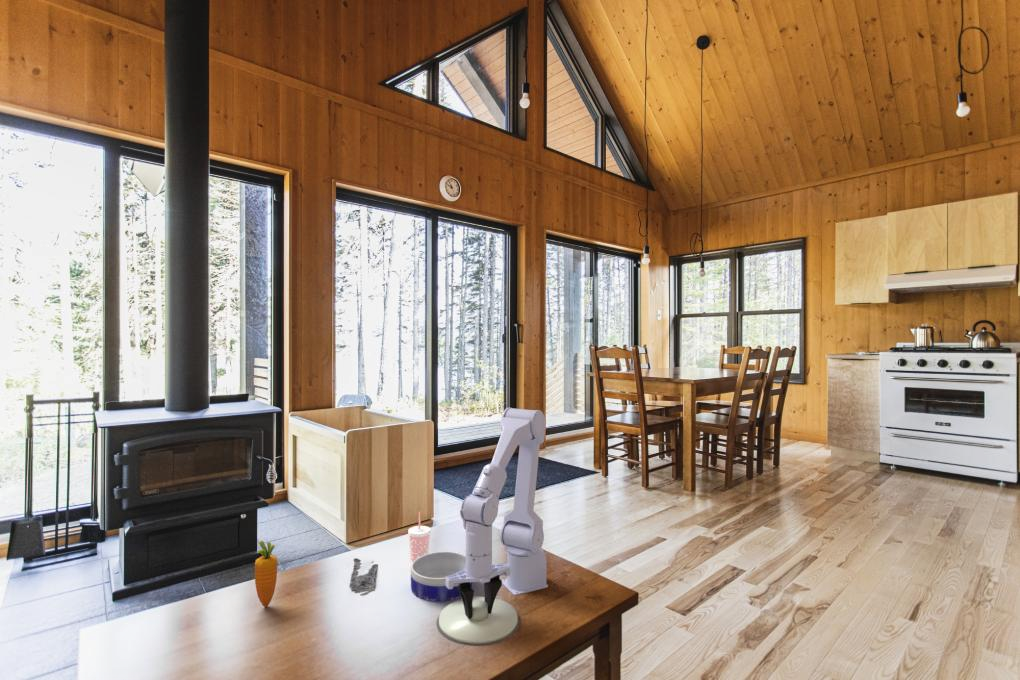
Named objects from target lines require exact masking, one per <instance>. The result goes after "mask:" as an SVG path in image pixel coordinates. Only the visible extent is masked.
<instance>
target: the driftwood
mask: <svg viewBox="0 0 1020 680" xmlns="http://www.w3.org/2000/svg"><path fill="white" fill-rule="evenodd" d="M353 562H354V563H353V567H352V568H353V570H352V573H351V577H350V582H349V589H350V590H351V592H354V594H359V596H366V595H369V594H370V593H372V592H376V589H375V581H376V576H375V575H376V572H377V564H373V563H374V561H371V562H370V563H372V566H371V567H370V568H369V569H368V572H367V573H364V574H359V571H358V570H359V569H361V568H362V567H361V565H362V564H363V563H361V562H362V559H359V558H353ZM364 564H365V563H364Z"/></svg>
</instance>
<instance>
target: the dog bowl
mask: <svg viewBox="0 0 1020 680" xmlns="http://www.w3.org/2000/svg"><path fill="white" fill-rule="evenodd" d="M464 569H466V554H465V553H460V552H456V551H450V550H449V551H447V550H441V551H434V552H428V554H425V555H423V556H421V557H419V558H417V559H416V560H415V561H414V562H413V563H412V564H411V563H410V589H411V590H410V591H411V594H413V595H414V596H415V597H416V598H417V599H420V600H423V601H426V602H432V603H433V602H434V603H435V602H436V603H439V602H440V603H442V602H443V603H445V602H450V601H455V600H459V599H460V598H461V595H460V593H459V590H458V588H457V586H455V587H453V589H448V588H447V587H446V576H450V575H453V574H455V573H457V572H460V571H462V570H464ZM473 583H474V582H472V583H470V585H471V588H472V589H473ZM461 599H462V598H461Z"/></svg>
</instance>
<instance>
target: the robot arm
mask: <svg viewBox="0 0 1020 680" xmlns="http://www.w3.org/2000/svg"><path fill="white" fill-rule="evenodd" d="M499 420H500V421H499V426H500V432H501V434H500V437H499V440H498V442H497V445H496V448H495V451H494V454H493V457H492V460H491V462H490V463H488V464H486V465H484V466H483V468H482V471H481V473H480V475H479V477H478V480H477V482H476V483H475V486H474V488H473V490H472V493H471V494H469V495H467V496H466V497H465V498H464V499H463V501H462V503H461V508H460V510H459V515H460V518H461V520H462V523H463V525H462V526H463V528H464V530H465V555H466V569H464V570H462V571H460V572H457V573H455V574H453V575H450V576H446V587H447V588H448V589H453V587H455V586H457V588H458V590H459V593H460V595H461V599H462V601H463V604H464V609H465V615H466V616H467V617H468V619H471V618H472V601H473V597H474V594H475V590H474V589H473V587H472V588H471V585H470V583H472V582H473V583H481V584H483V588H484V589H483V590H484V597H485V600H484V601H485V602H486V603H487V604H488V614H490V613H491V612H492V608H493V604H494V601H495V598H496V597H497V595H498V594H499V593H498V592H499V591H500V589H501V588H502V585H504V586H505V588H506V589H507V590H508V591H510V593H511V594H513V596H517V595H522V594H525V593H526V594H527V593H531V592H534V591H539V590H542V589H546V588H548V587H549V585H548V584H547V574H548V573H547V565H548V564H547V557H546V553H545V550H544V549H543V548H542V547H543V544H544V540H545V539H544V538H545V535H544V534H545V533H544V526H543V525H544V520H543V519H542V518H541V517H540V516H539V514H537V513H536V511H535V510H534V508H535V498H536V489H537V488H536V487H537V476H538V469H539V468H538V467H539V457H540V455H539V454H540V448H541V447H540V446H541V444H543V443H544V441H545V435H546V426H547V419H546V418H545V415H544V412H543V411H542V410H540V409H536V410H534V409H523V408H514V407H513V408H512V407H506V408H505V409H504V410H503V412H502V414H501V419H499ZM518 446H519V451H518V460H517V468H516V469H517V470H516V479H515V490H514V496H513V497H514V501H513V507H512V510H510V511H509V512H507V513H506V514H505V515H504V516H503V521H502V525H501V527H500V532H499V539H500V542H501V545H503V546H504V551H507V552H506V554H507V555H506V559H507V560H506V561H507V562H506V563H501V564H500V563H499V564H493V524H494V522H495V520H496V518H497V516H498V513H499V504H500V499H499V497H500V495H501V492H502V489H503V487H504V485H505V483H506V480H507V478H508V475H507V474H508V473H507V471H506V468H507V467H508V464H509V463H510V461H511V458H513V455H514V454H515V451H516V449H517V447H518ZM501 576H502V577H503V576H506V578H504V579H502V578H501ZM496 599H497V598H496Z"/></svg>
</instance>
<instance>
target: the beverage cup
mask: <svg viewBox="0 0 1020 680" xmlns="http://www.w3.org/2000/svg"><path fill="white" fill-rule="evenodd" d="M407 531H408V532H407V534H408V539H409V555H410V556H409V557H410V565H411V564H412V563H413V562H414V561H415V560H416V559H417V558H419V557H421V556H423V555H425V554H429V550H430V549H429V547H430V534H431V532H432V531H431V527H429V526H426V525H421V511H418V525H415V526H411V527H410V528H408V530H407Z"/></svg>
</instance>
